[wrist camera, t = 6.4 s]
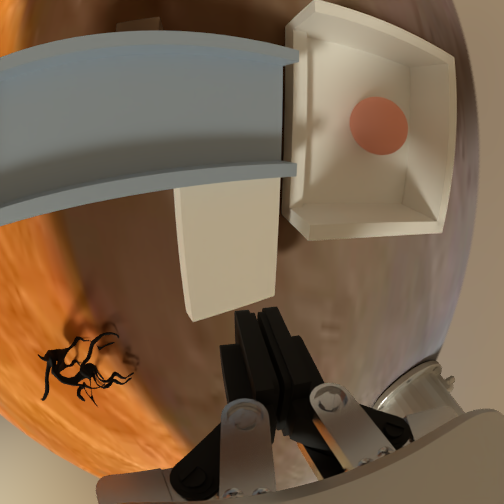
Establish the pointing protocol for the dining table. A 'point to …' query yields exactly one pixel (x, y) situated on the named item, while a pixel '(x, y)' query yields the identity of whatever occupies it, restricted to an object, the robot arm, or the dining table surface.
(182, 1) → the dining table surface
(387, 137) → the ball
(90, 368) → the creature
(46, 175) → the lever
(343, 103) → the tray
